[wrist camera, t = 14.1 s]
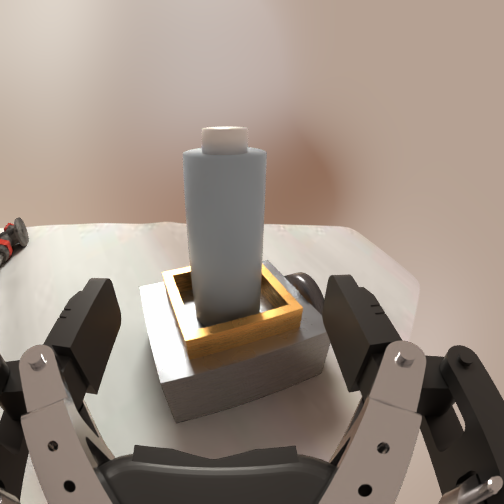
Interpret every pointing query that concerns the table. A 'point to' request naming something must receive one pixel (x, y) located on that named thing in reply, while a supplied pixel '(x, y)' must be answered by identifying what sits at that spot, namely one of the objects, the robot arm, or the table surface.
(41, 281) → the table surface
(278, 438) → the table surface
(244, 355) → the gold-trimmed base block
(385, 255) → the table surface
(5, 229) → the valve
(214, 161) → the light blue bottle
